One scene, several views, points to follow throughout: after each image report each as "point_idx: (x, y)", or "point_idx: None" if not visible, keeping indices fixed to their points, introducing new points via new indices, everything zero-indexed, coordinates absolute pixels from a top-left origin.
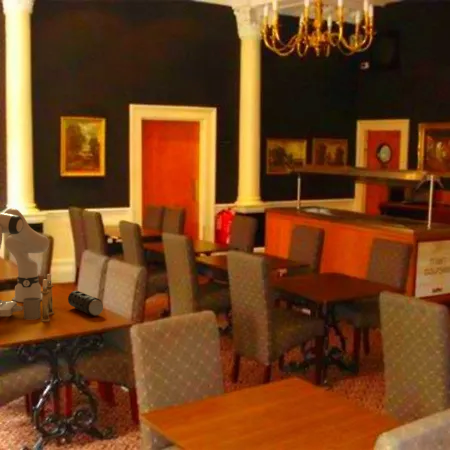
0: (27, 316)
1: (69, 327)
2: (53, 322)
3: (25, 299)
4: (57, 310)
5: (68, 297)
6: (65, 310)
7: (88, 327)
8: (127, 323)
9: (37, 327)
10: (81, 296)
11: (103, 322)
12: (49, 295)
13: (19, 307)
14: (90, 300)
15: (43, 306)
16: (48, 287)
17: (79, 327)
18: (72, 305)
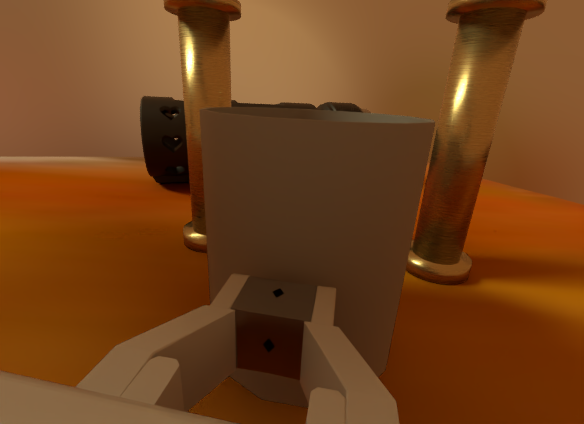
0: (390, 340)
1: (549, 219)
2: (464, 245)
3: (236, 135)
4: (143, 214)
5: (146, 131)
6: (173, 200)
7: (513, 194)
8: (427, 163)
9: None
10: (270, 107)
11: (424, 176)
12: (229, 96)
13: (326, 312)
14: (362, 111)
15: (487, 155)
16: (227, 17)
17: (528, 205)
18: (185, 167)
